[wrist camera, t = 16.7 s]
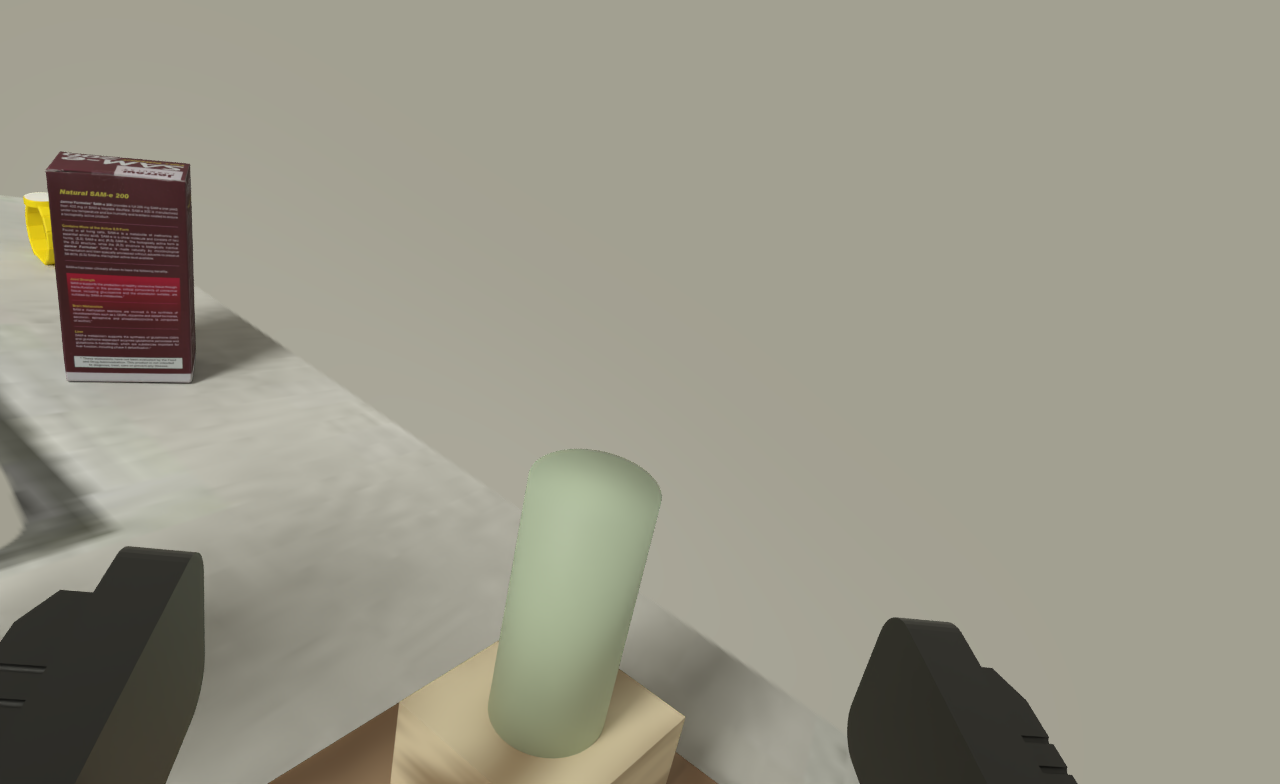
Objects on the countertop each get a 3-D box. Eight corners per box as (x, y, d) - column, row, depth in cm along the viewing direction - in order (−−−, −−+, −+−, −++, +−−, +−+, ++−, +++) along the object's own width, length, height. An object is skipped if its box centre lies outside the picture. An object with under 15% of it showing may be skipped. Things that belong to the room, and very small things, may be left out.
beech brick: (390, 783, 43) (399, 701, 41) (528, 687, 50) (542, 613, 47) (533, 918, 38) (551, 835, 36) (663, 793, 45) (685, 717, 43)
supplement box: (196, 356, 76) (194, 161, 69) (192, 385, 72) (189, 181, 65) (72, 353, 73) (56, 148, 66) (61, 383, 69) (43, 168, 62)
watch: (20, 252, 87) (12, 188, 85) (54, 249, 89) (47, 186, 87) (42, 271, 84) (34, 205, 81) (76, 268, 86) (70, 203, 83)
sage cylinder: (462, 707, 41) (499, 477, 36) (542, 650, 45) (585, 435, 40) (552, 779, 39) (607, 544, 33) (627, 712, 43) (687, 493, 37)
